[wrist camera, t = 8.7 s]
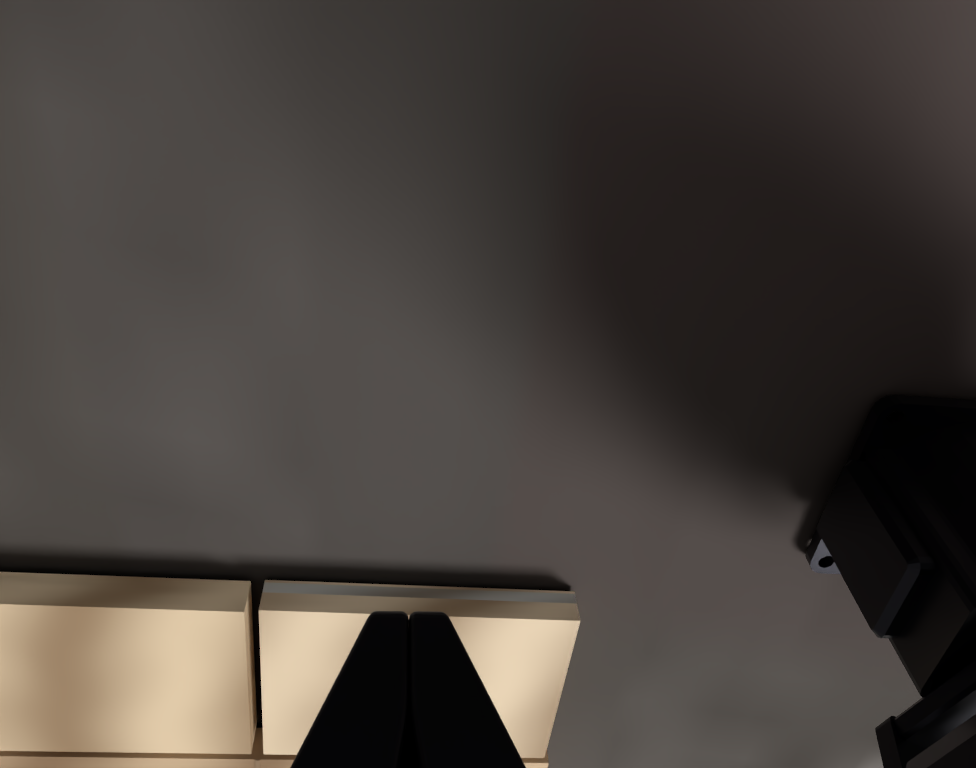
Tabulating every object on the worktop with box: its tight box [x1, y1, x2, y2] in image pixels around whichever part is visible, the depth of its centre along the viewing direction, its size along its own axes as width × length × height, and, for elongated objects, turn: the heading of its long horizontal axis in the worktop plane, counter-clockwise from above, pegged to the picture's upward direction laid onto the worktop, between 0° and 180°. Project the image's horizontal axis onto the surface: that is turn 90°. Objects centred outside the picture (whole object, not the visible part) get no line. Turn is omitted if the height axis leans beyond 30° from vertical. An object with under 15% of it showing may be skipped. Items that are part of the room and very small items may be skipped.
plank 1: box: [0, 572, 257, 754], centre depth 27 cm, size 10×7×1 cm
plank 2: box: [259, 580, 580, 758], centre depth 28 cm, size 10×7×1 cm
